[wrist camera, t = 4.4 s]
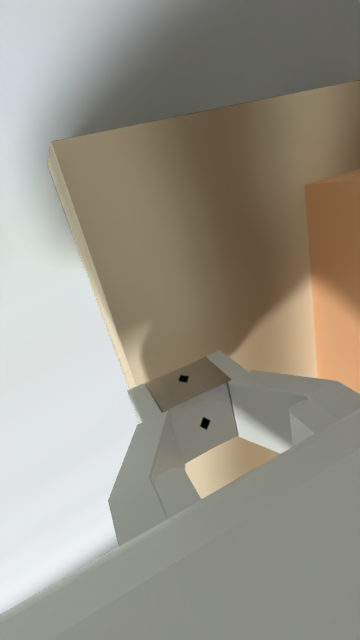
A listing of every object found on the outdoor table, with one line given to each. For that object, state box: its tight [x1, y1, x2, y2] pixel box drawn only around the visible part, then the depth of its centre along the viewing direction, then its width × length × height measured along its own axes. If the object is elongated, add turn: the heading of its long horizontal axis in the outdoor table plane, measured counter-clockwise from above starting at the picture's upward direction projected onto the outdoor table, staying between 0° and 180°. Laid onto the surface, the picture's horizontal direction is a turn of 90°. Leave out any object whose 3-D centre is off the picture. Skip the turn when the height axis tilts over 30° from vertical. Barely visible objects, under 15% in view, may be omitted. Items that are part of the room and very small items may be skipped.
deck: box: [47, 80, 360, 499], centre depth 15 cm, size 22×14×4 cm, turn 104°
